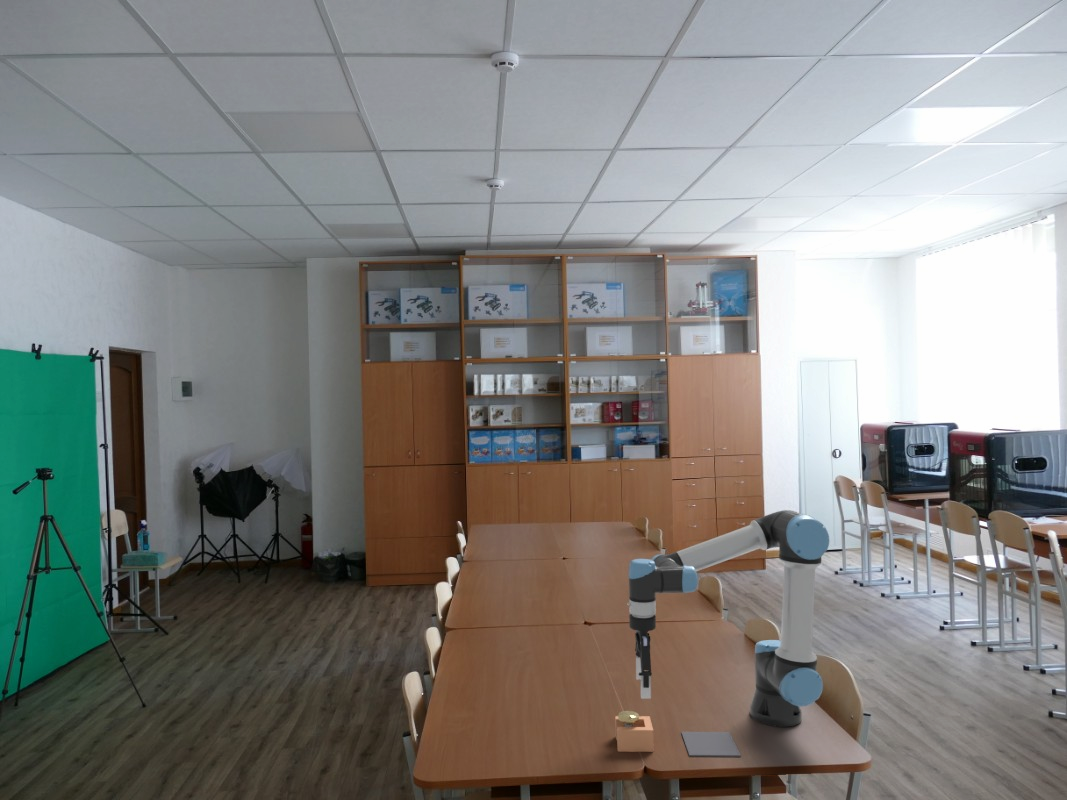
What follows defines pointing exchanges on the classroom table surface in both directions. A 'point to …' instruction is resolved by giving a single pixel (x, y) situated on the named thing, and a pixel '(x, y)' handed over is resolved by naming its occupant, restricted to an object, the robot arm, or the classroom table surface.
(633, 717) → the knob post
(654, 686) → the classroom table surface
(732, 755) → the mat
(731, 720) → the classroom table surface
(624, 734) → the c link
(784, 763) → the classroom table surface
